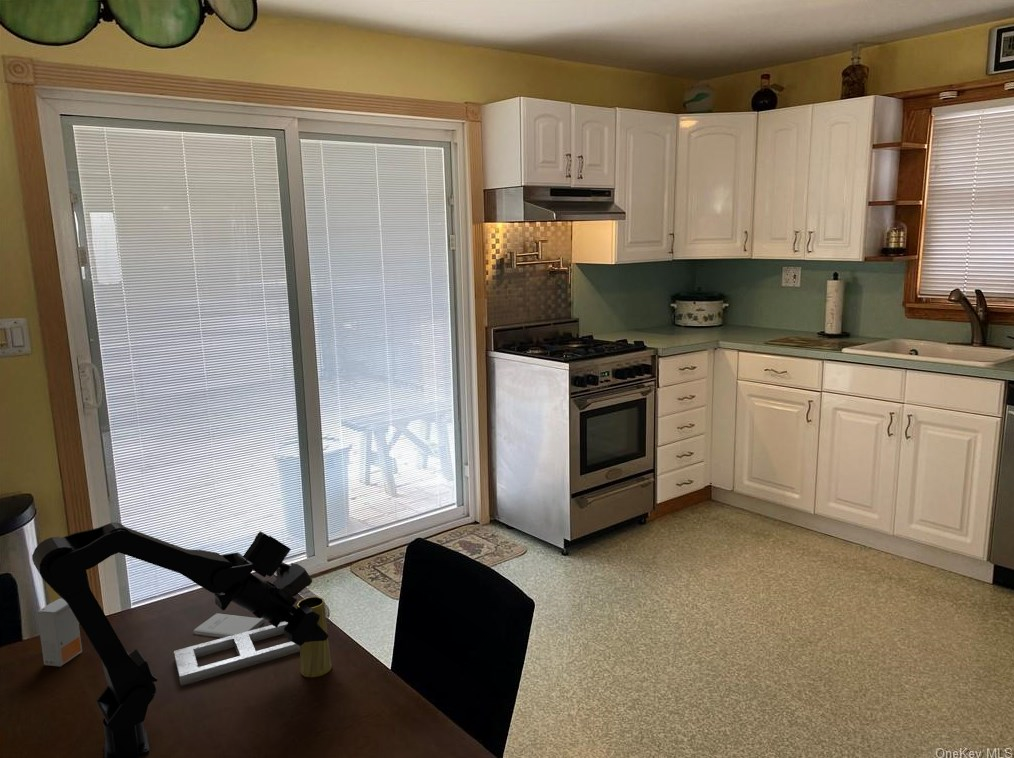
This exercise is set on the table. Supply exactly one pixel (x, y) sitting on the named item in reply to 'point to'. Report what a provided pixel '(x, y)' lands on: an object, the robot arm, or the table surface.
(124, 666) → the robot arm
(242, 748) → the table surface
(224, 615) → the external hard drive
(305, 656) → the vase
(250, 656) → the grey flat frame
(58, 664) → the skincare box
